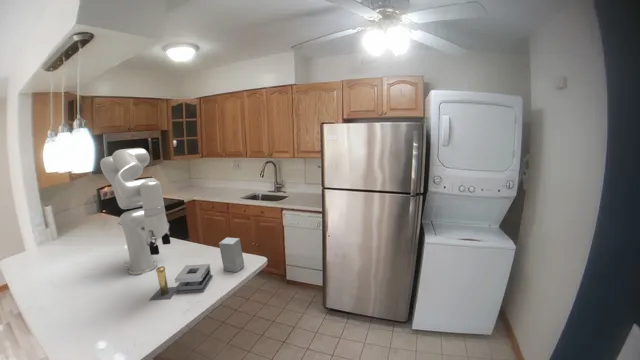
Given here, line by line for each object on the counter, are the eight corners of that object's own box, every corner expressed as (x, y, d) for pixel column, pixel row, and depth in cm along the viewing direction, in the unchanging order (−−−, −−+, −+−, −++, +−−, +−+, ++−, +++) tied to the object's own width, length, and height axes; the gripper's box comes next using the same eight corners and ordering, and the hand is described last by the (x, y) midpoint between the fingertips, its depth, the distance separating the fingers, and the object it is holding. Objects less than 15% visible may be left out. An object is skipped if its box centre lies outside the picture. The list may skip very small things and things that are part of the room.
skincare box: (244, 266, 138) (241, 237, 135) (236, 273, 132) (232, 243, 128) (230, 264, 141) (227, 236, 138) (221, 271, 134) (218, 241, 131)
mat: (148, 301, 113) (148, 300, 113) (159, 288, 122) (159, 287, 122) (170, 300, 113) (170, 299, 113) (180, 287, 122) (180, 286, 122)
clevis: (175, 294, 117) (173, 279, 115) (187, 279, 129) (185, 264, 127) (203, 292, 117) (201, 277, 116) (212, 277, 129) (211, 263, 127)
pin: (158, 296, 116) (154, 270, 113) (162, 291, 119) (158, 266, 117) (166, 295, 116) (162, 270, 113) (170, 290, 119) (166, 266, 117)
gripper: (155, 205, 119) (162, 241, 122) (132, 218, 102) (140, 259, 106) (173, 204, 119) (179, 240, 123) (152, 217, 103) (160, 258, 106)
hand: (161, 249), depth 114 cm, fingers open, 9 cm apart
